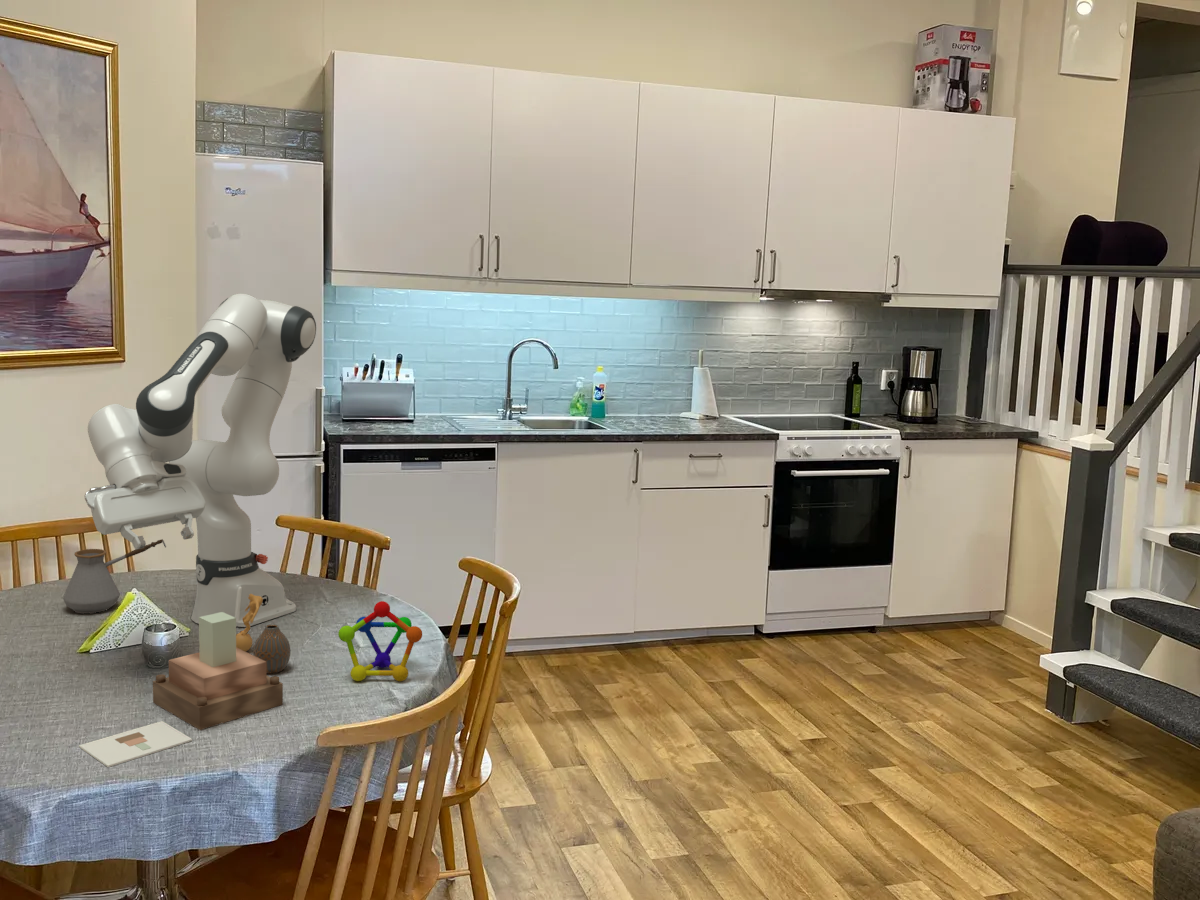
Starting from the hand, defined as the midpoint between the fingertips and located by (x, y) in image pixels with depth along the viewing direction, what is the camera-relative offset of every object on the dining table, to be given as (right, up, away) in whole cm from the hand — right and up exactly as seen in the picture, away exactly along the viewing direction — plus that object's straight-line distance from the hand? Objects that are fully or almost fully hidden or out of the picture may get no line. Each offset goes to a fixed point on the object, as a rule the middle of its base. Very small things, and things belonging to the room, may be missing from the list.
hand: (165, 542), depth 201 cm
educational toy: (+37, -27, +12) cm, 47 cm away
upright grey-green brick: (+12, -20, -7) cm, 25 cm away
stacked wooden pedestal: (+12, -28, -6) cm, 31 cm away
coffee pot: (-29, -18, +44) cm, 56 cm away
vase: (+16, -26, +11) cm, 33 cm away
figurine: (+8, -24, +21) cm, 33 cm away
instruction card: (+4, -31, -23) cm, 39 cm away
